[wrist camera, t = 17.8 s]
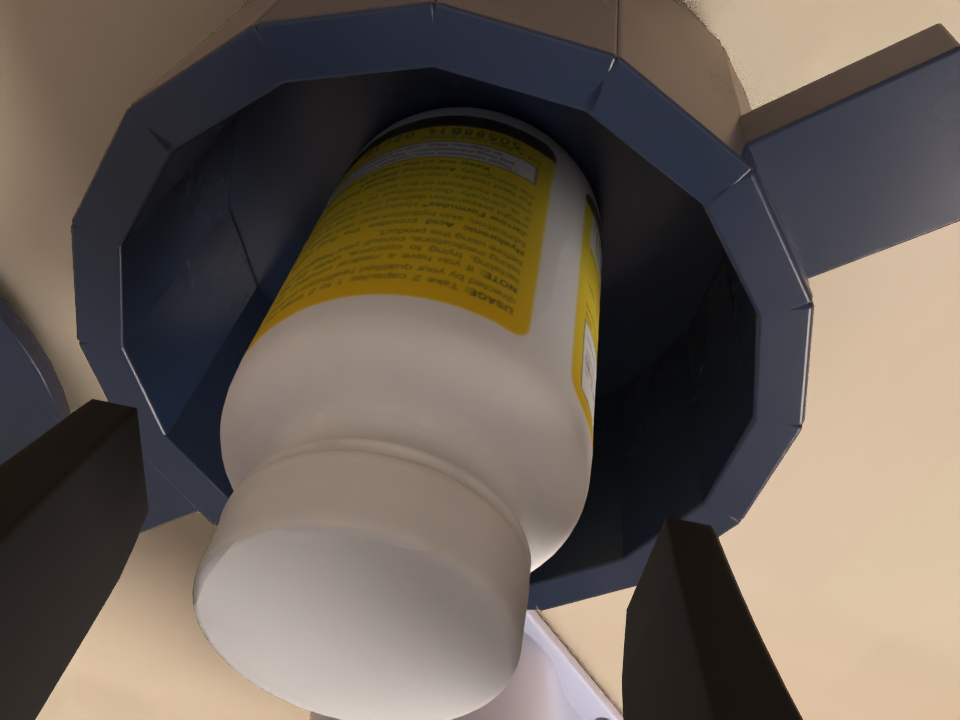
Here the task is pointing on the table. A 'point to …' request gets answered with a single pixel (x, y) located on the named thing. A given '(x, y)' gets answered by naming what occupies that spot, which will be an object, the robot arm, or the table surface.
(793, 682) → the table surface
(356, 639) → the supplement bottle
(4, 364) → the pot lid
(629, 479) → the pot
